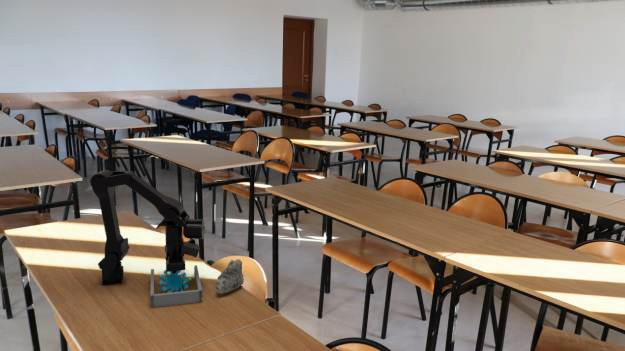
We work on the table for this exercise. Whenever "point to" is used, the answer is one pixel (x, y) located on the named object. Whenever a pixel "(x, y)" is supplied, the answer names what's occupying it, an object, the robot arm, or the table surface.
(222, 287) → the mineral rock
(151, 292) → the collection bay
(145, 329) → the table surface
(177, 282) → the gear
